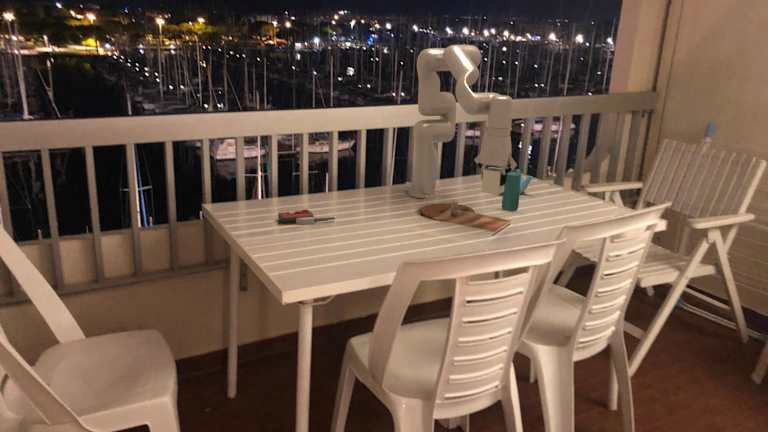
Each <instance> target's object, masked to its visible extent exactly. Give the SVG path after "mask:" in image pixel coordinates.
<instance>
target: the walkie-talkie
mask: <svg viewBox="0 0 768 432" xmlns="http://www.w3.org/2000/svg"><path fill="white" fill-rule="evenodd" d="M313 213H314V212H312V211H310V210H308V208H306V207H303V208H295V209H293V210H289V209H288V210H286V211H285V212H284V211H283V212H278V213H277V214H278V215H277V219H278V223H279V224H281V225H282V224H283V225H284V224H285V225H314V224H315V223H317V222H327V221H333V220H336V218H335V217H334V216H333V217H321V218H315V215H314V214H313Z"/></svg>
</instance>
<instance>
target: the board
mask: <svg viewBox="0 0 768 432" xmlns="http://www.w3.org/2000/svg"><path fill="white" fill-rule="evenodd" d="M432 219H435V220H437V221H443V222H447V223H452V224H455V225H460V226H466V227H471V228H474V229H475V228H476V229H479V230H484V231H487V232H495V231H496V232H495V233H493V234H492V235H491V236H492V237H493V236H495V235H497V234H498V233H500V232H501V231H503V230H505V228H507V227H509V226H510V225H511V223H510V222H511V220H510V219H506V218H501V217H496V216H493V215H492V216H491V215H486V214H481V213H477V212H472V211H467V210H463V209H459V202H458V201H452V202H451V206H450V208H448V209H447V210H446V211H443V212H441V213H439V214H437V215H435V216H433V217H432ZM503 226H504V227H503ZM500 228H501V229H500ZM499 229H500V230H499ZM497 230H498V231H497Z"/></svg>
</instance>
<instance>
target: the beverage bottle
mask: <svg viewBox="0 0 768 432" xmlns="http://www.w3.org/2000/svg"><path fill="white" fill-rule="evenodd" d="M515 163H516V164H517V166H516V167H515V168H514V170H511V171H510V172H509V173H508V174H507V179H506V183H505V185H504V192H503V194H502V197H501V198H502V200H501V209H502V210H503V211H508V212H515V211H518V209H519V207H520V206H519V205H520V204H519V203H520V194H519V193H520V181H521V175H522V172H521V171H520V172H519V171H517V170H516V169H520V162H519V161H515ZM510 166H511V164H510V165H507V168H509V167H510Z"/></svg>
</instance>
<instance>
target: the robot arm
mask: <svg viewBox="0 0 768 432" xmlns="http://www.w3.org/2000/svg"><path fill="white" fill-rule="evenodd" d="M481 61H482V54H481V51H480V49H479V48H478V47H477V46H475V45H473V44H472V45H471V44H451V45H448V46H447V47H446V48H445V47H443V48H442V47H431V48H426V49H423V50H421V51H420V53H419V54H418V57H417V60H416V71H417V77H418V78H417V79H418V95H417V108H418V113H419V114H420V115H421V116H424V117H439V118H433V119H431V118H430V119H429V118H428V119H420V120H418V121H416V123H415V124H414V125H413V127H412V128H413V129H412V135H413V142H414V145H413V146H414V149H413V150H414V151H413V152H414V156H413V173H412V174H413V175H412V182H408V181H406V182H405V184H404V187H405V188H406V189H409V190H408V195H409V196H410V197H412V198H415V199H421V200H423V199H425V198H428V197H430V196H435V197H439V193H440V192H439V191H437V190H436V184H437V182H436V181H437V169H438V151H437V148H436V147H435V145H434V144H435V143H447V142H450V141H451V142H452V140H453V138H454V137H455V133H456V122H457V121H456V120H457V102H458V104H459V106H460V107H461V108H462V110H463V111H464V112H465V113H466V114H468V115H471V116H478V115H479V116H482V115H483V116H484V115H488V116H487V125H486V127H483V132H485V133H486V134H485V135H483V138H482V141H481V147H480V152H479V154H477V156H476V157H475V158H474V162H475V163H476V164H477V166H478V167H479V170H480V171H481V180H482V177H483V169H486V168H488V167H496V168H501V170H502V175H501V179H500V186H503V185H505V183H506V179H507V174H508V173H509V172H510V171H511V170H512V169H514V168H515V167H516V166H517V164H516V163H515V162H516V161H515V160H514V159H513V157H512V140H511V136H510V129H511V128H510V127H511V118H512V109H513V108H512V107H513V99H512V97H511V96H509V95H504V94H503V95H502V94H500V93H498V92H473V91H472V90H471V88H470V86H472V85H473V84H474V83H476V82H477V80H478V79H479V77H480V71H479V69H478V66H479V65H480V63H481ZM436 71H437V72H441V71H443V72H450V73H451V75H452V76H453V78H454V79H455V80H456V84H455V95H453V93H452V92H448V91H441V80H440V77H439V75H438V74H437V72H436ZM510 164H511V166H510V167H508V165H510ZM514 170H515V169H514Z"/></svg>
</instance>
